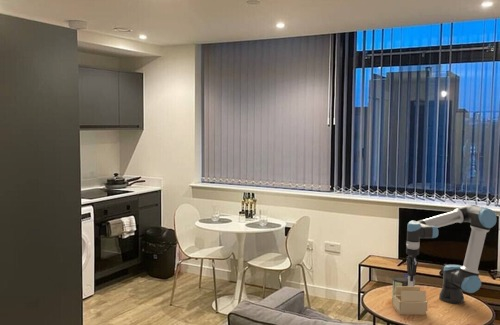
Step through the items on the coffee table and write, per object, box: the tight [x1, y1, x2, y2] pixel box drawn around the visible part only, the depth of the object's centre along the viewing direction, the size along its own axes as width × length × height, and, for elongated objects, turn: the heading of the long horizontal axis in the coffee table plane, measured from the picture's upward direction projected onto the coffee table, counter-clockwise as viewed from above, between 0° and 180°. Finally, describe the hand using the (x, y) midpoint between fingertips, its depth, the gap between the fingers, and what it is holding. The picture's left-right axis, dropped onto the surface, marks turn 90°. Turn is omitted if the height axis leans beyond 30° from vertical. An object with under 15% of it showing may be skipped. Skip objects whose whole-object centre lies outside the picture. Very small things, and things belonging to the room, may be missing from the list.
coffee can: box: [391, 276, 408, 301], centre depth 326 cm, size 10×10×14 cm
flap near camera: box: [401, 290, 427, 301], centre depth 301 cm, size 15×6×1 cm
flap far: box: [395, 285, 421, 294], centre depth 311 cm, size 15×6×1 cm
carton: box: [392, 295, 428, 316], centre depth 307 cm, size 17×12×8 cm
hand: (410, 285), depth 306 cm, fingers closed
